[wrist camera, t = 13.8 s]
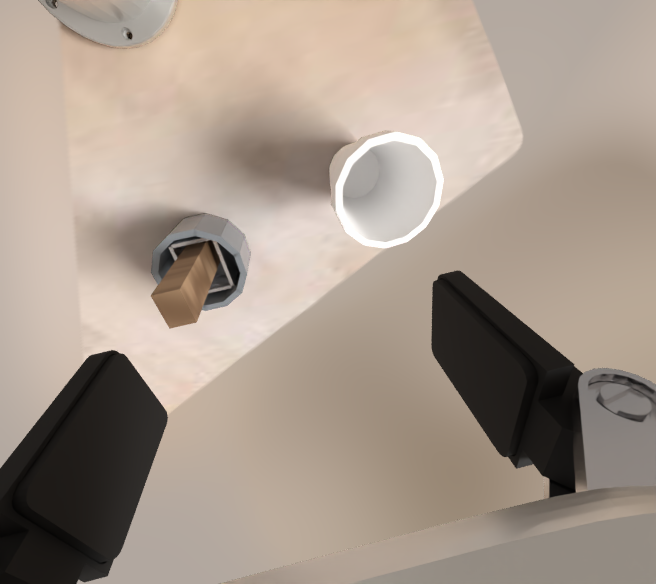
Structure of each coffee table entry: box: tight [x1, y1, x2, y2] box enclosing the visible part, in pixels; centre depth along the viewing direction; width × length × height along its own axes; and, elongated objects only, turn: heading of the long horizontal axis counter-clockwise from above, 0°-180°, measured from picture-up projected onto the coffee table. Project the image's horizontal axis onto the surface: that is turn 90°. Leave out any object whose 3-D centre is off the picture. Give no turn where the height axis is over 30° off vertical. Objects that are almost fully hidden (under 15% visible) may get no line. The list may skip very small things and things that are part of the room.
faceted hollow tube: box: [151, 213, 251, 311], centre depth 36 cm, size 10×10×6 cm
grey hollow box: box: [168, 236, 238, 293], centre depth 36 cm, size 7×5×4 cm
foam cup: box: [329, 130, 444, 248], centre depth 30 cm, size 10×9×13 cm
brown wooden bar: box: [151, 240, 220, 328], centre depth 31 cm, size 4×2×14 cm
